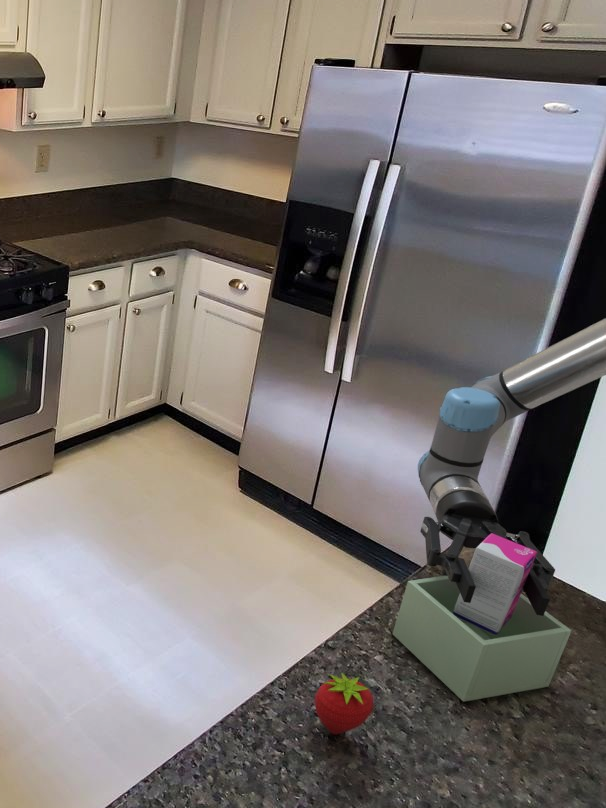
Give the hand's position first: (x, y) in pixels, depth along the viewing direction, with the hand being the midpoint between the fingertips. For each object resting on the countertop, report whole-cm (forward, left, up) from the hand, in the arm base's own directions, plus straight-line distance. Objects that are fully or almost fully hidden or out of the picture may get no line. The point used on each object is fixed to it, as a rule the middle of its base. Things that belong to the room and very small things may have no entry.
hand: (506, 600), depth 104 cm
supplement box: (-2, -4, -7) cm, 8 cm away
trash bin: (-2, -4, -14) cm, 15 cm away
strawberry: (+25, +4, -14) cm, 29 cm away
